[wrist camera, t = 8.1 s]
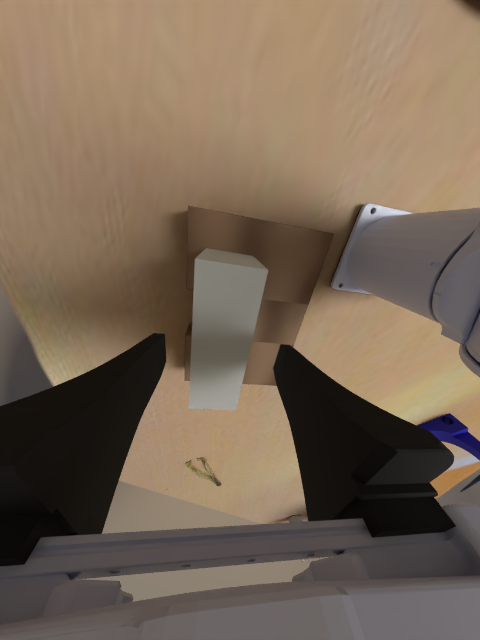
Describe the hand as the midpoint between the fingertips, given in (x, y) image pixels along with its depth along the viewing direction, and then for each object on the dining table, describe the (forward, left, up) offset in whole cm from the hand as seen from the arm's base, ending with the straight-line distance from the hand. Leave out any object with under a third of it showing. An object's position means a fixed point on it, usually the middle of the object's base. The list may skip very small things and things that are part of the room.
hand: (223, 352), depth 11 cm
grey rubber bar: (0, +1, -7) cm, 7 cm away
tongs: (-2, +39, -10) cm, 41 cm away
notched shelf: (-2, +1, -9) cm, 10 cm away
